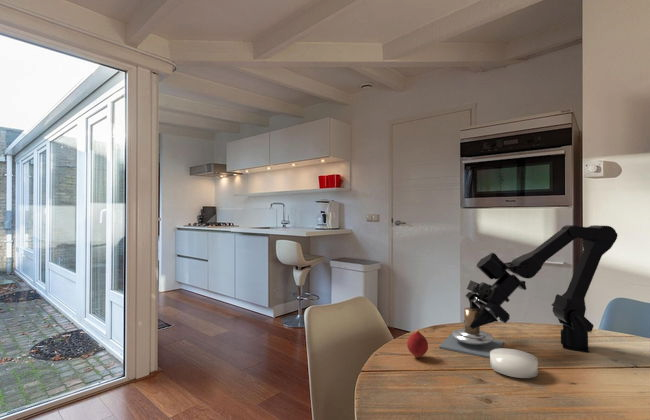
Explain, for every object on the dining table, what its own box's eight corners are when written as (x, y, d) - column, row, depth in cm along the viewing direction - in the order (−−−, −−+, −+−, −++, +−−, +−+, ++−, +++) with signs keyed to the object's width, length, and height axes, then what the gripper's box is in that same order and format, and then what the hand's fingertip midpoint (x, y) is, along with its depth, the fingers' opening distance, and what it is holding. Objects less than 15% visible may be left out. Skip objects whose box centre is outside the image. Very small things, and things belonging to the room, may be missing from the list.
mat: (503, 343, 112) (503, 341, 112) (495, 359, 99) (495, 357, 99) (452, 334, 121) (452, 332, 121) (439, 348, 108) (439, 346, 108)
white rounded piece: (539, 369, 93) (538, 353, 93) (536, 385, 84) (536, 368, 84) (493, 359, 99) (493, 345, 99) (486, 374, 90) (486, 358, 90)
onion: (425, 354, 103) (425, 327, 103) (429, 362, 98) (429, 333, 98) (406, 353, 104) (405, 326, 104) (408, 361, 98) (408, 332, 98)
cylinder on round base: (501, 339, 108) (500, 310, 108) (477, 347, 102) (476, 316, 102) (468, 329, 118) (467, 302, 119) (444, 335, 112) (443, 307, 113)
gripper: (470, 268, 120) (439, 300, 120) (498, 276, 102) (461, 315, 101) (493, 290, 120) (462, 323, 120) (525, 303, 101) (489, 342, 101)
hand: (467, 325), depth 110 cm, fingers closed on cylinder on round base, 4 cm apart
